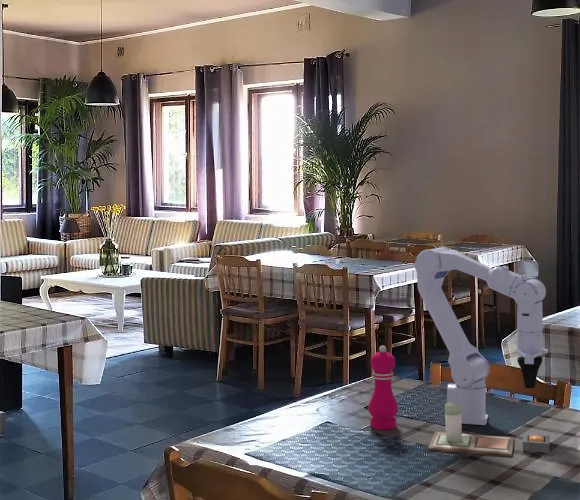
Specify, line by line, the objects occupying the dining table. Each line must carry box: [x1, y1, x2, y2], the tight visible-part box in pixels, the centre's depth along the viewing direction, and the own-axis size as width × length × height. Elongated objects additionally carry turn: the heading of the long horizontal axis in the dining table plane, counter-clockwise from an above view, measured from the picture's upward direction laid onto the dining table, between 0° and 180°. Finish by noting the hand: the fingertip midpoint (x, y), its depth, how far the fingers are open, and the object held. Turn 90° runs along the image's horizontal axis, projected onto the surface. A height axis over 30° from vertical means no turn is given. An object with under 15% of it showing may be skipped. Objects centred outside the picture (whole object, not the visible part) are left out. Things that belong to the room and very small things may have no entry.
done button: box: [529, 434, 544, 442], centre depth 191 cm, size 3×3×2 cm
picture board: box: [427, 430, 515, 458], centre depth 194 cm, size 18×12×1 cm, turn 73°
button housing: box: [522, 433, 551, 454], centre depth 191 cm, size 6×6×2 cm
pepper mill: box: [368, 345, 399, 431], centre depth 208 cm, size 7×7×20 cm
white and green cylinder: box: [444, 402, 463, 443], centre depth 195 cm, size 4×4×8 cm
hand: (529, 387), depth 203 cm, fingers closed
